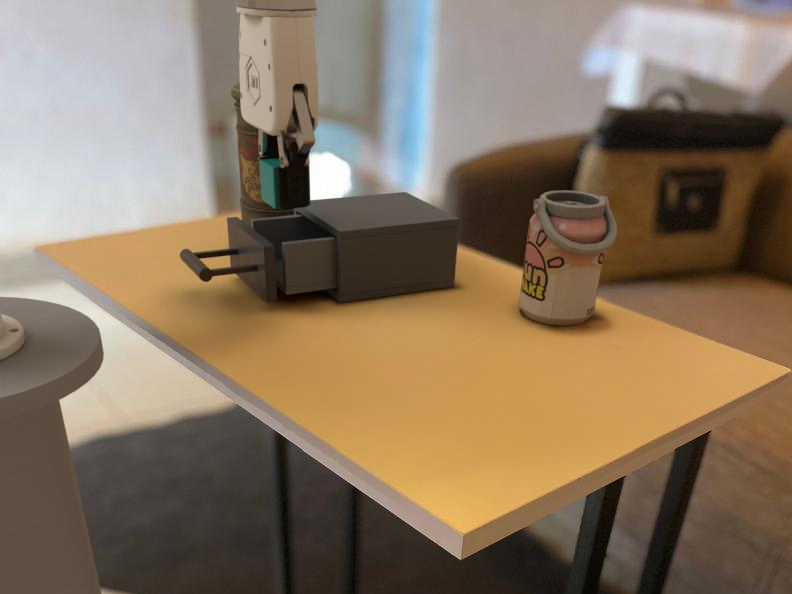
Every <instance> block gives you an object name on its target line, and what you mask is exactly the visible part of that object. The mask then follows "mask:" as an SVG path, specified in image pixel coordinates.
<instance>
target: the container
mask: <svg viewBox="0 0 792 594" xmlns="http://www.w3.org/2000/svg"><path fill="white" fill-rule="evenodd" d="M230 95H231V97H232V98H233V99H234V101H235V102H234V103H233V107H234V109H235V112H236V125H235V130H236V136H237V157H238V168H239V187H240V189H239V190H240V198H239V205H240V217H241V218H240V220H242V221H243V222H244V223H246V224H247V225H248V226H250V227H251V219H258V218H268V217H279V216H289V215H294V208H291V209H282V208H281V209H275V208H273V207H272V206H270V205H269V204H267V203H266V202H264V201H263V200H262V198H261V181H260V164H259V160H260V157H265V156H260V154H259V150H258V134H257V131H256V130H257V128H256V127H254V126H252V125H250V124H249V123H247V122H246V121H245V120H244V118H243V117H242V114H241V102H240V83H237V84H234V85H232V86H231V89H230ZM290 132H297V131H296V128H295V127H293V126H287V133H290ZM291 142H295V139H287V147H288V148H289V146H290V143H291Z"/></svg>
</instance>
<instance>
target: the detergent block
mask: <svg viewBox="0 0 792 594" xmlns="http://www.w3.org/2000/svg"><path fill="white" fill-rule="evenodd" d="M259 164H260V181H261V198H262V200H263V201H264V202H266V203H267V204H269V205H270V206H272V207H273V208H275V209H281V208H280V207H279V204H278V183H277V167H281V165H280V158H277V159H262V160H259ZM310 168H311V167H310V166H309V167H308V178H309V205H308V206H310V200H311V177H310V176H311V173H310V171H311V169H310Z"/></svg>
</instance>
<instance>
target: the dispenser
mask: <svg viewBox="0 0 792 594" xmlns="http://www.w3.org/2000/svg"><path fill="white" fill-rule="evenodd" d="M300 214H302V215H304V216H305V217H307V218H308V219H310V220H311V221H313V222H315V223H316V224H318V225H319V226H321V227H322V228H324V229H325V230H327V231H328V232H330V233H331V234H333V235H334V236H336V237H337V288H333V289H325V290H323V291H324V292H325V293H327V294H328V295H329V296H331V297H332V298H333V299H335V300H336V301H337V302H338V303H349V302H355V301H362V300H368V299H376V298H382V297H390V296H397V295H403V294H404V295H405V294H410V293H419V292H425V291H431V290H432V291H433V290H439V289H444V288H452V287H455V282H456V279H455V278H456V269H457V259H458V258H457V257H458V246H459V232H460V231H459V230H460V222H461V221H460V220H461V219H460V218H459V217H457V216H455V215H453V214H451V213H449V212H447V211H445V210H443V209H441V208H439V207H437V206H434V205H433V204H432V203H429V202H426V201H425V200H423V199H421V198H419V197H416V196H415V195H414V194H413V195H412V193H408V192H407V191H400V192H389V193H388V192H387V193H378V194H366V195H355V196H344V197H331V198H320V199H310V206H307V207H302V208H294V215H300Z"/></svg>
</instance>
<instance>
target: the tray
mask: <svg viewBox="0 0 792 594" xmlns="http://www.w3.org/2000/svg"><path fill="white" fill-rule="evenodd" d="M226 223H227V224H226V225H227V238H228V248H222V249H213V250H203V251H195V252H193V251H192V250H191V249H189V248H184V249H182V250H181V251H180V253H179V258H180V260H181V261H182V262H183V263H184V264H185V265H186V266H187V267H188V269H190V270H191V271H192V272H193V273H194V274H195V275H196V277H197V278H199V279H200V281H202V282H204V283H207V282H209V281H211V280H212V279H213V277H219V276H220V277H221V276H227V275H229V276H230V275H236V276H237V277H238V278H239V279H240V280H241V281H242V282H243V283H244V284H245V285H246V286H247V287H249V288H250V289H251V290H252V291H253V293H255V294H257V296H258V297H260V298H261V299H262V300H263V301H264V302H265V303H266V304H267V303H268V304H269V303H274V302H275V303H276V302H278V292H277V291H278V290H277V289H279V290H280V291H281V292H282V293H284V294H285V295H286V296H287V295H294V294H295V295H296V294H302V293H311V292H318V291H324V290H325V289H333V288H337V237H336V236H334V235H333V234H331V233H330V232H328V231H327V230H325V229H324V228H322V227H321V226H319V225H318V224H316V223H315V222H313V221H311V220H310V219H308V218H307V217H305V216H304V215H302V214H300V215H289V216H279V217H268V218H258V219H251V227H250V226H248V225H247V224H246V223H244V222H243V221H242V220H241V218H239V217H238V216H230V217H226ZM228 256H229V263H230V266H226V267H218V268H211V269H210V268H209V267H208V266H207V265H206V264H205V263H204V262H203V261H202V260H201V259H210V258H211V259H212V258H218V257H219V258H220V257H228Z"/></svg>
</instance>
